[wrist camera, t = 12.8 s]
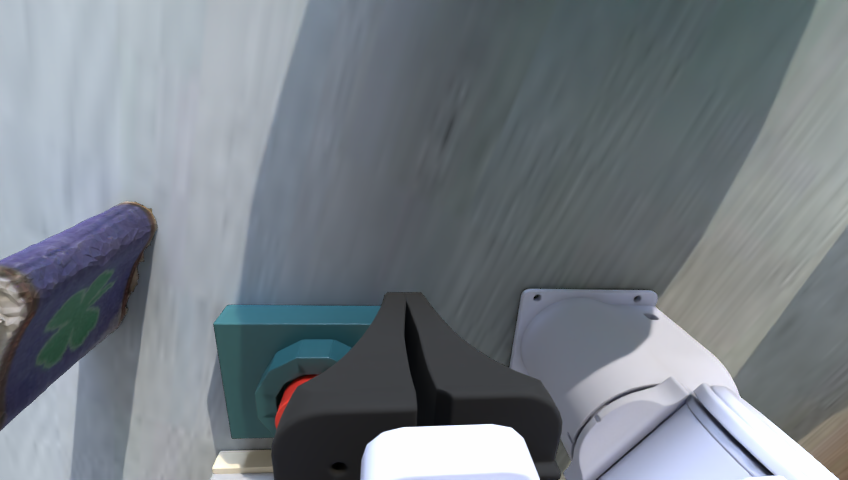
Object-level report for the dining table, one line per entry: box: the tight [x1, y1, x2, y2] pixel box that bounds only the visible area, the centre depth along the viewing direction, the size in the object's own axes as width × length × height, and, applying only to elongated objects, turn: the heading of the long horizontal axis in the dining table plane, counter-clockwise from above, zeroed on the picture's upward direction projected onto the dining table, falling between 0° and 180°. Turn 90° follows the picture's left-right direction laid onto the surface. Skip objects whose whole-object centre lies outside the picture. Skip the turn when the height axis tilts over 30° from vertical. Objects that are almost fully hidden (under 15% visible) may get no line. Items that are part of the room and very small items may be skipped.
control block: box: [213, 305, 381, 439], centre depth 25 cm, size 12×9×4 cm
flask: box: [0, 201, 157, 431], centre depth 18 cm, size 9×3×11 cm, turn 150°
